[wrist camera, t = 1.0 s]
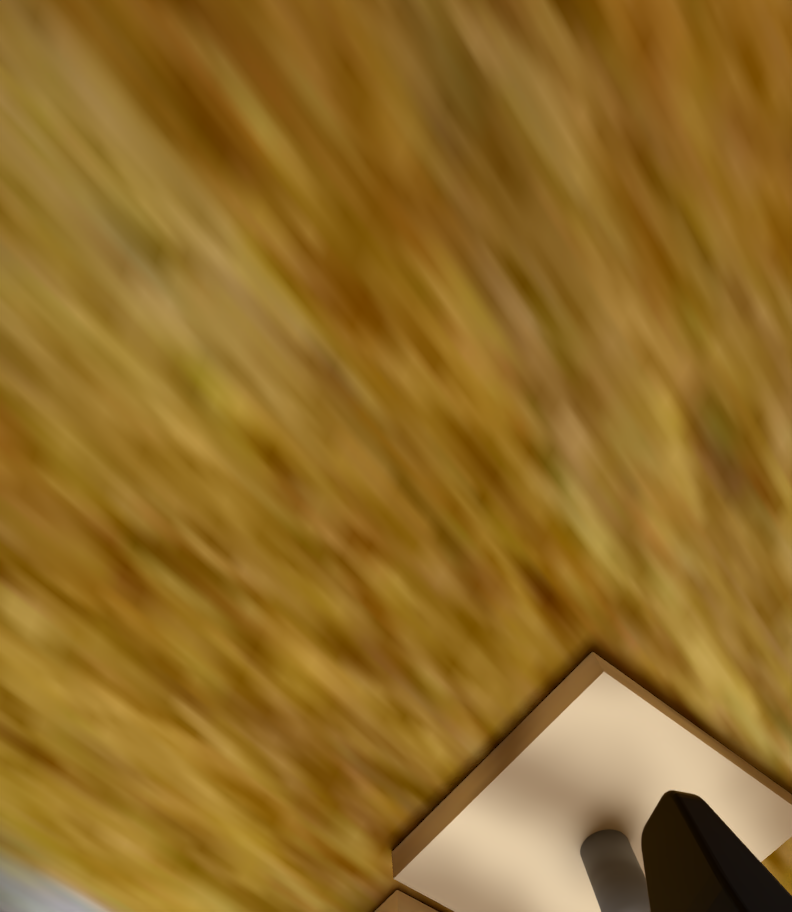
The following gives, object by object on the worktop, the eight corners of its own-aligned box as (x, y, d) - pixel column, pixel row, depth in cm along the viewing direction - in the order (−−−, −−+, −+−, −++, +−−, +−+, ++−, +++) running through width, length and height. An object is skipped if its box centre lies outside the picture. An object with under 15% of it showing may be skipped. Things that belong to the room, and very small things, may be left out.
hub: (595, 964, 31) (632, 1073, 27) (391, 852, 28) (399, 956, 24) (793, 795, 28) (865, 888, 24) (592, 651, 25) (638, 731, 21)
